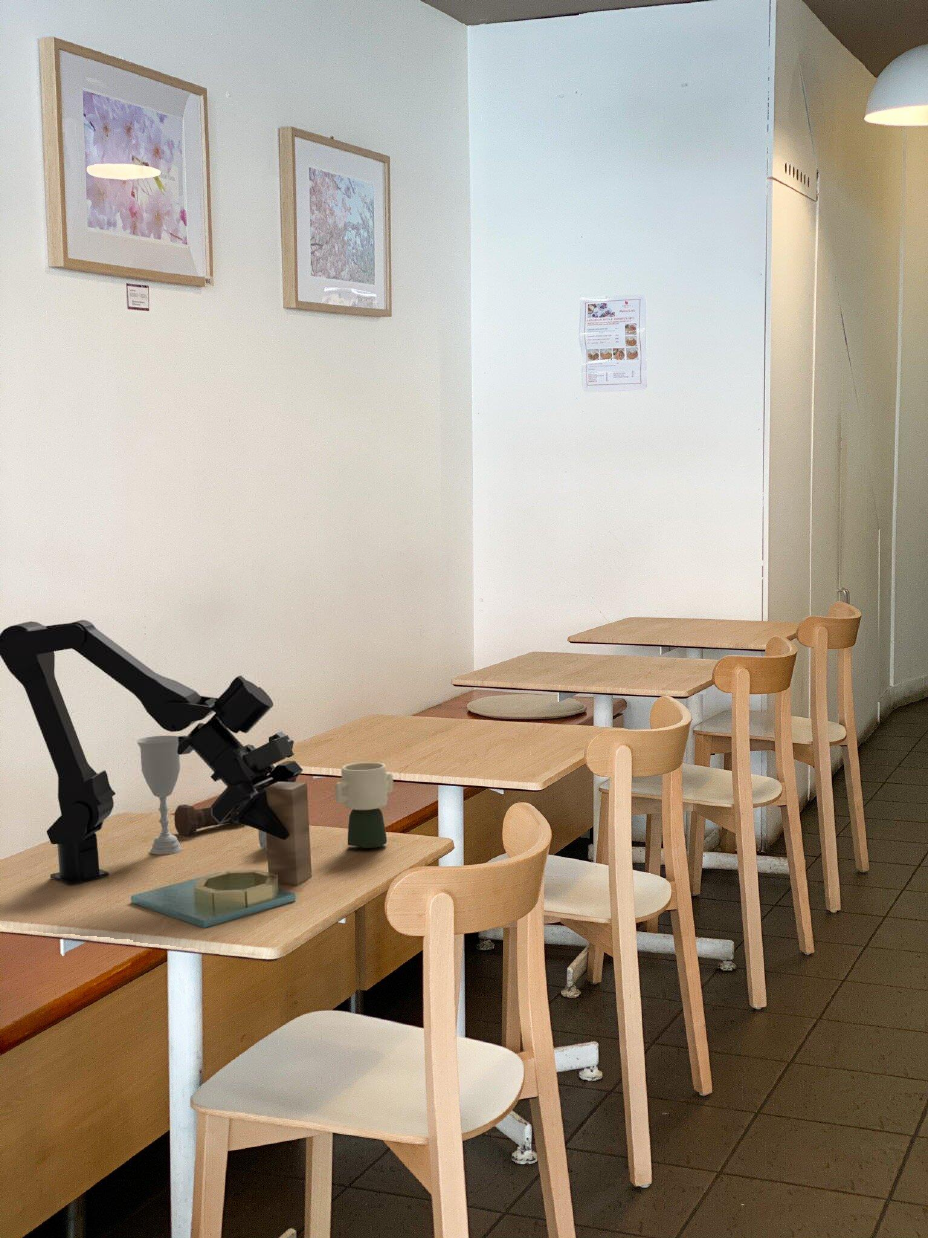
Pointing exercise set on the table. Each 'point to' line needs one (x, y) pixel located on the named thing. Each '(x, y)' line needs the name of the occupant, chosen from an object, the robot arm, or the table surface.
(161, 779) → the chalice
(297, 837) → the peg
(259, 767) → the robot arm
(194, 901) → the socket plate
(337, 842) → the table surface
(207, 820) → the bolt
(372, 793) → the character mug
